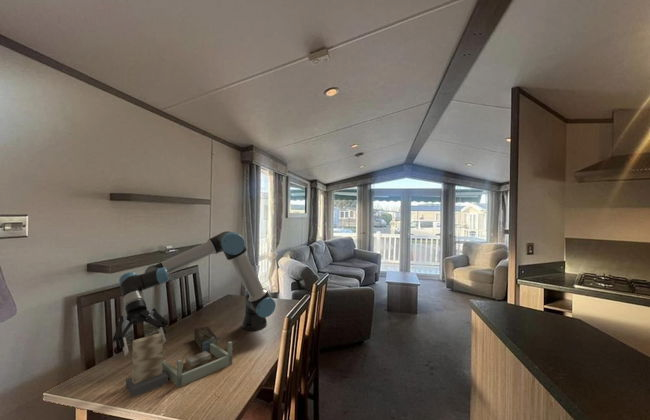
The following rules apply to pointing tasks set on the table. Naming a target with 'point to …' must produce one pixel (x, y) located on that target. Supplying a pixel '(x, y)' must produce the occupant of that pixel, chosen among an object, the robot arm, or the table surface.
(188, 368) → the offcut stack
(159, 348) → the birch block
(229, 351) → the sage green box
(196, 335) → the beverage carton
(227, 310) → the table surface
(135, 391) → the rubber block
